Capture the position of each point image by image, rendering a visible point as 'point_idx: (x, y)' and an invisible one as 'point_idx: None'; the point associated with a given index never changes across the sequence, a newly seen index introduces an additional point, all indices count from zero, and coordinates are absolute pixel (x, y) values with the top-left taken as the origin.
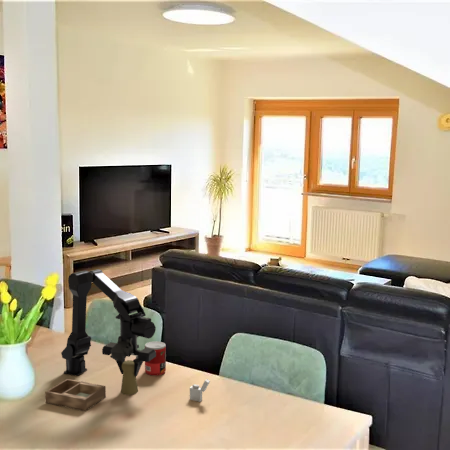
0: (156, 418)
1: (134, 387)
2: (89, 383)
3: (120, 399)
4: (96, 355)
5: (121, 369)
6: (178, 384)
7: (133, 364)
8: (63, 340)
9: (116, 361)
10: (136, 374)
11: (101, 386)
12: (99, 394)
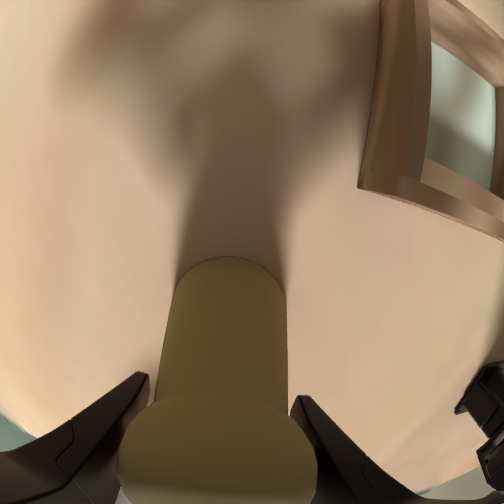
0: (9, 53)
1: (171, 308)
2: (494, 226)
3: (239, 170)
4: (418, 470)
5: (313, 428)
6: (58, 395)
7: (123, 486)
8: (467, 464)
9: (402, 490)
10: (125, 386)
11: (425, 182)
12: (394, 108)
